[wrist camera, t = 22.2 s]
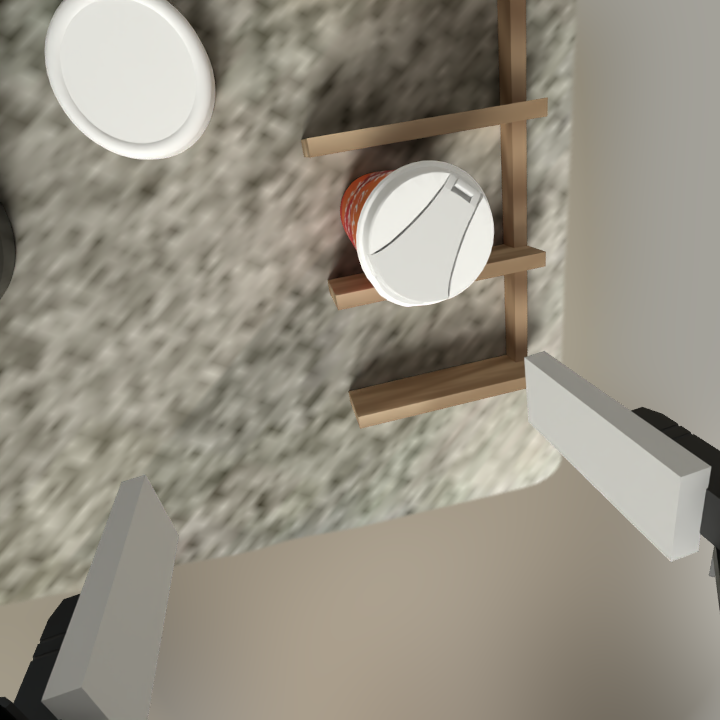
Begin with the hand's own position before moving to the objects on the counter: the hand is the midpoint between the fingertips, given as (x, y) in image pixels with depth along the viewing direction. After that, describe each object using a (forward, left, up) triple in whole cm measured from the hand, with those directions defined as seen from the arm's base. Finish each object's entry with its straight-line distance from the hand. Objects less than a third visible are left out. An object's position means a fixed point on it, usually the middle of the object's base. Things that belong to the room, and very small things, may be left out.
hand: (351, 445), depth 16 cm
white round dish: (-17, +2, -28) cm, 32 cm away
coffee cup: (+1, +8, -27) cm, 28 cm away
